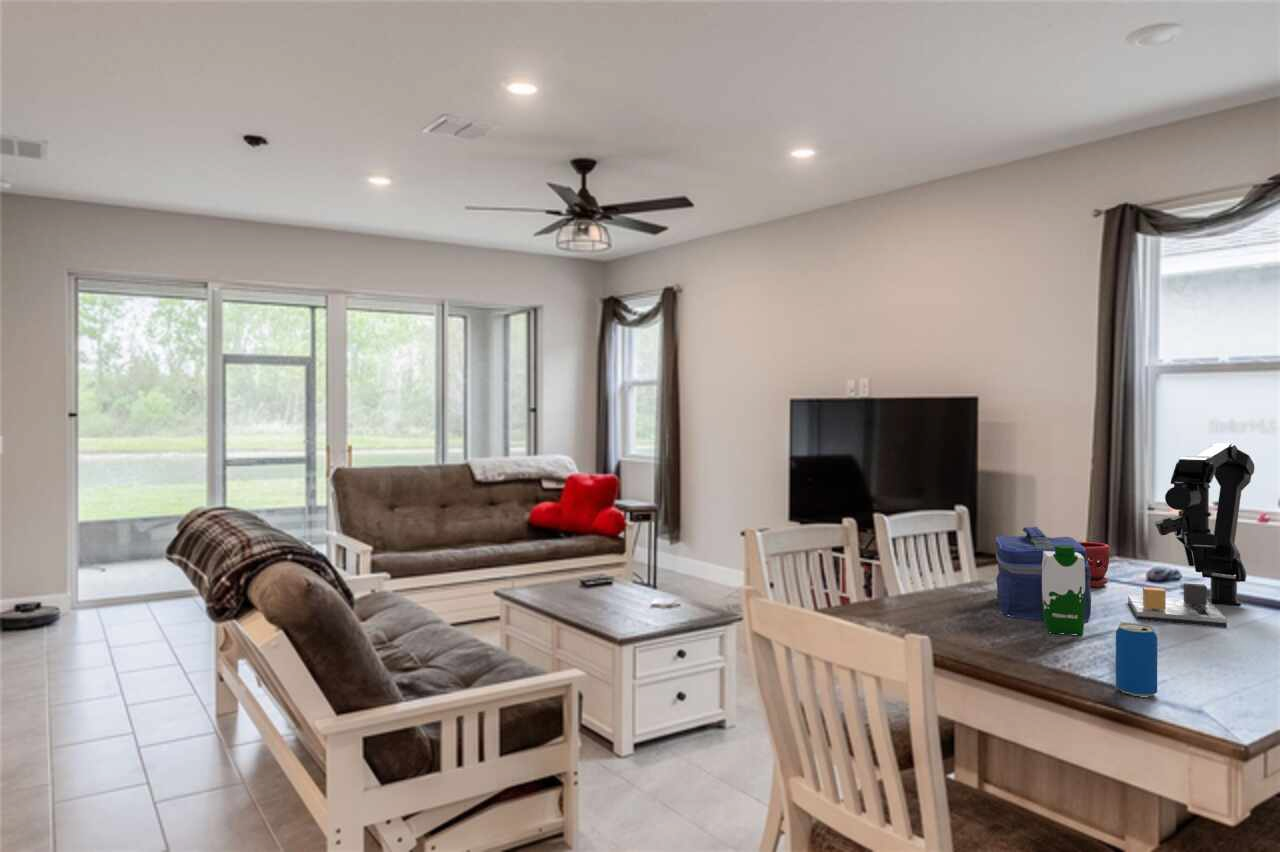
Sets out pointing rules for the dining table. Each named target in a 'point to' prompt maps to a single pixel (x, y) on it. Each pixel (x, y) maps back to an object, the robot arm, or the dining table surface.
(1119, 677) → the beverage can
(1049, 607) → the milk carton
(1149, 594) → the orange fader
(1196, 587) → the black fader
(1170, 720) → the dining table surface
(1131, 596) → the panel
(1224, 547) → the robot arm
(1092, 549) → the plant pot
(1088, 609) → the lunch bag
